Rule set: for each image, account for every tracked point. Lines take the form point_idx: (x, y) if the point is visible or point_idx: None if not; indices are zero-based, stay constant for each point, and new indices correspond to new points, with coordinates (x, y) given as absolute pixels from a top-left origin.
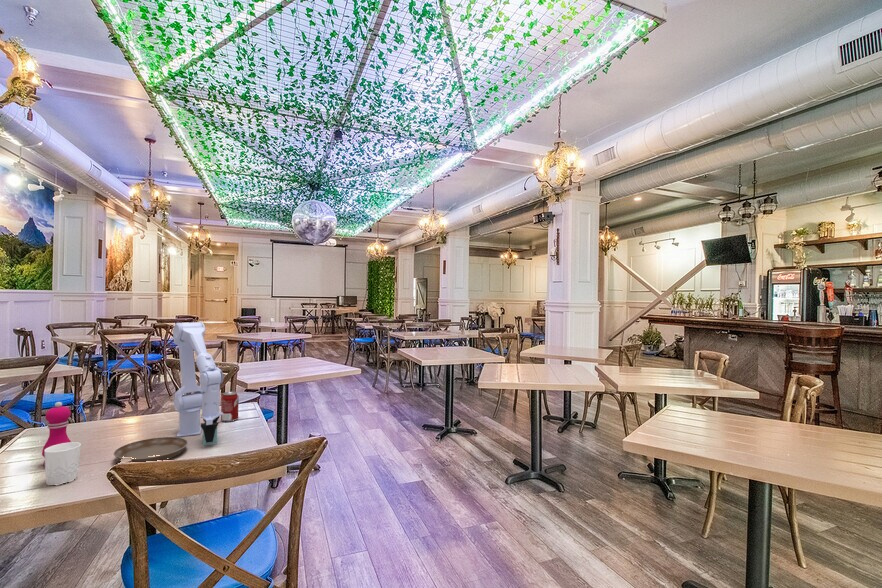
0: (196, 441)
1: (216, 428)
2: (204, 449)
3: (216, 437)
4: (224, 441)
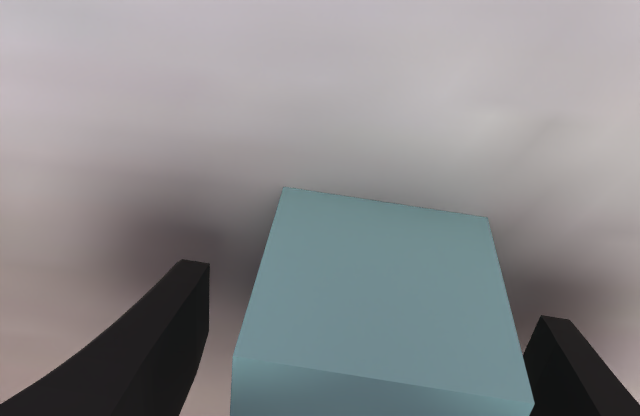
0: (230, 386)
1: (368, 389)
2: (635, 364)
3: (502, 289)
4: (455, 99)
